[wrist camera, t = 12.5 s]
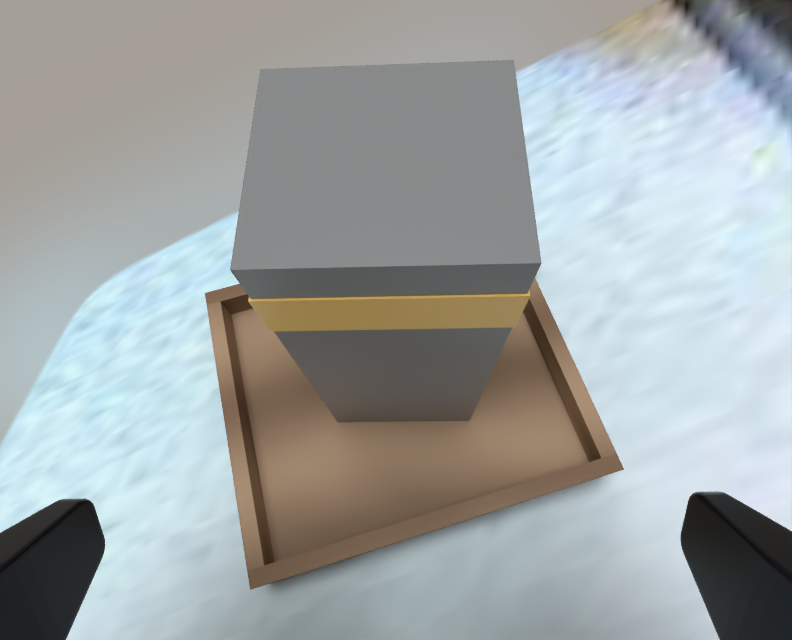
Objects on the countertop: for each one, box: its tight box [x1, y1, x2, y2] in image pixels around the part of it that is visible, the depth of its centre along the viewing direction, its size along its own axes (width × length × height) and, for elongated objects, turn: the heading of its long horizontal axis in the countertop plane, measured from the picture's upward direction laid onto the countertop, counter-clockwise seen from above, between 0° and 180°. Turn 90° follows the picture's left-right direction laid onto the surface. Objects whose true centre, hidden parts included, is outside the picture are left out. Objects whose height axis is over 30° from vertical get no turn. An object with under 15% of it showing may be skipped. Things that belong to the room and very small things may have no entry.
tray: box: [205, 278, 624, 590], centre depth 21 cm, size 12×14×2 cm
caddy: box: [230, 60, 541, 422], centre depth 16 cm, size 5×6×13 cm
